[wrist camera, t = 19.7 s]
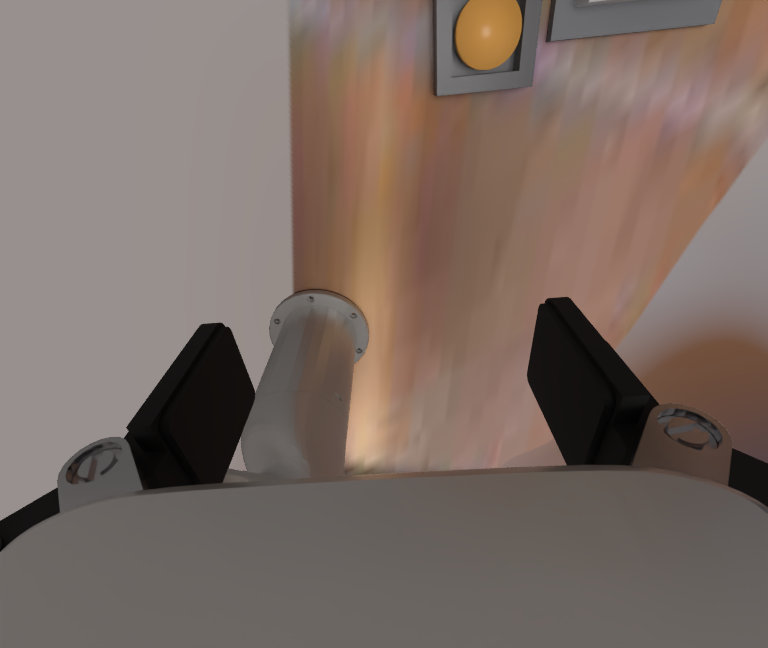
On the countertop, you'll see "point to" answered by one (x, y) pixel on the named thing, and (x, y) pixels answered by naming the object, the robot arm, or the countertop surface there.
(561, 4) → the grey rectangular tray
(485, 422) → the countertop surface
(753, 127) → the countertop surface
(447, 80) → the button housing
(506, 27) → the button
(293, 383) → the robot arm
